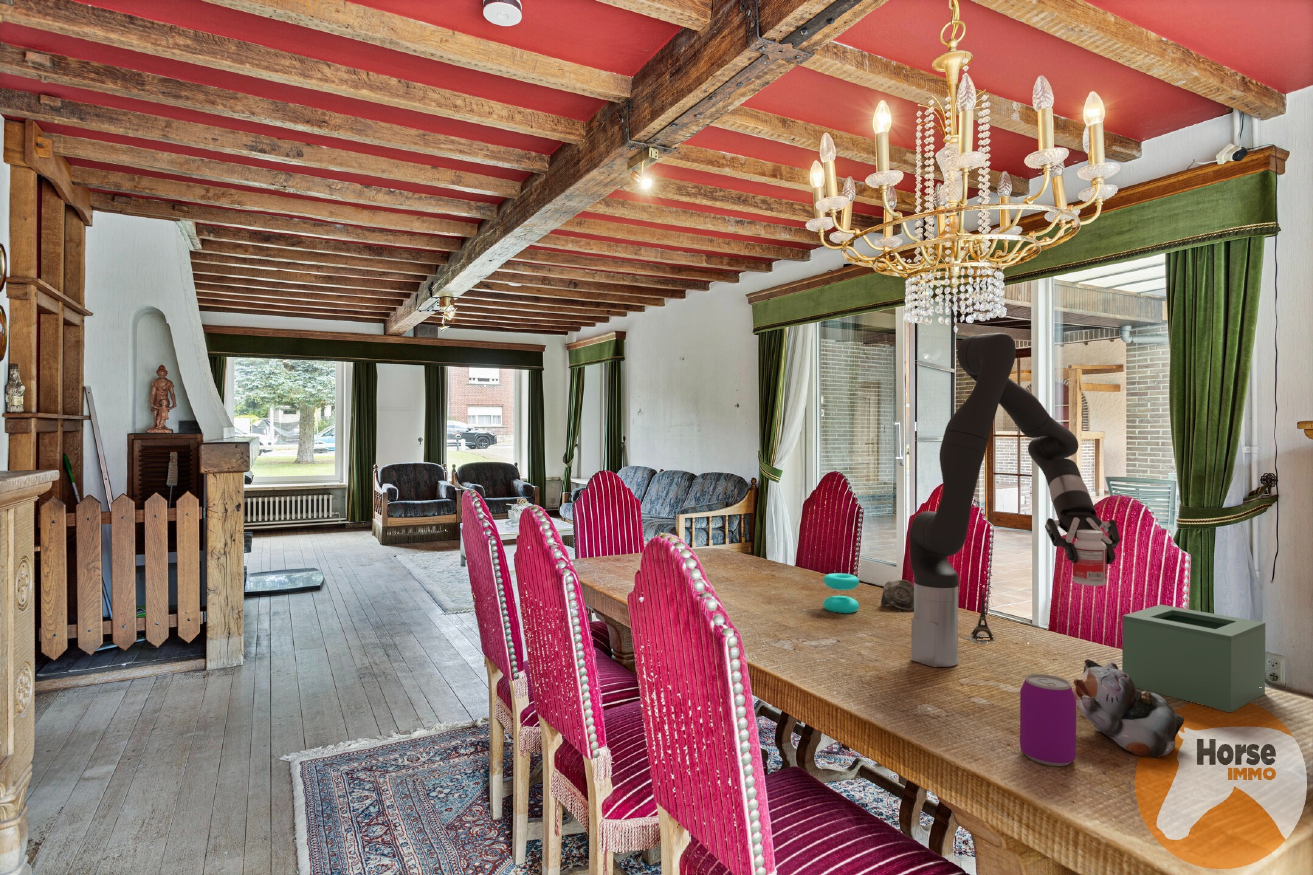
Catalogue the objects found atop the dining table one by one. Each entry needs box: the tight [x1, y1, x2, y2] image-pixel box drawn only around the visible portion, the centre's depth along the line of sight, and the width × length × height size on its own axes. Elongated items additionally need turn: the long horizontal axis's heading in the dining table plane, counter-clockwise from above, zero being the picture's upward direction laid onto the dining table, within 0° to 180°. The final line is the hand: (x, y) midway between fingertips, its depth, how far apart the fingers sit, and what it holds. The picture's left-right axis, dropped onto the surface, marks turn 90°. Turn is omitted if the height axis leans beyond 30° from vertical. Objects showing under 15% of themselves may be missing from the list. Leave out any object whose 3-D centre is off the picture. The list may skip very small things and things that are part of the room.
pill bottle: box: [1072, 530, 1108, 587], centre depth 151 cm, size 6×6×11 cm
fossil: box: [880, 579, 914, 612], centre depth 210 cm, size 11×9×10 cm
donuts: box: [822, 572, 860, 614], centre depth 206 cm, size 10×10×10 cm
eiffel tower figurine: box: [961, 589, 997, 645], centre depth 179 cm, size 15×10×13 cm
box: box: [1121, 604, 1266, 713], centre depth 143 cm, size 18×18×14 cm
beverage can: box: [1019, 673, 1077, 767], centre depth 111 cm, size 8×8×12 cm
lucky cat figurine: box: [1073, 659, 1185, 759], centre depth 118 cm, size 15×12×14 cm
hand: (1093, 561), depth 149 cm, fingers closed on pill bottle, 6 cm apart
